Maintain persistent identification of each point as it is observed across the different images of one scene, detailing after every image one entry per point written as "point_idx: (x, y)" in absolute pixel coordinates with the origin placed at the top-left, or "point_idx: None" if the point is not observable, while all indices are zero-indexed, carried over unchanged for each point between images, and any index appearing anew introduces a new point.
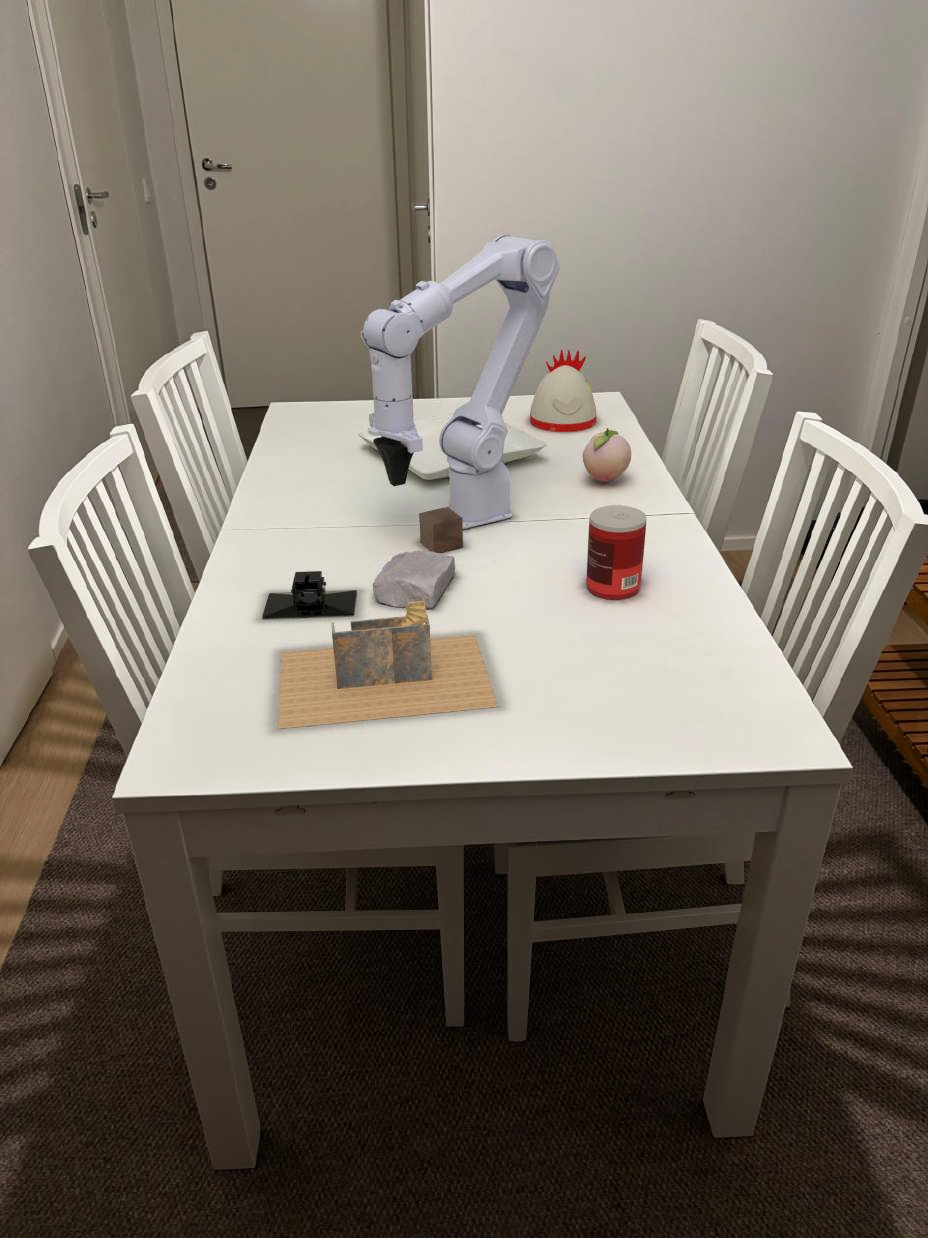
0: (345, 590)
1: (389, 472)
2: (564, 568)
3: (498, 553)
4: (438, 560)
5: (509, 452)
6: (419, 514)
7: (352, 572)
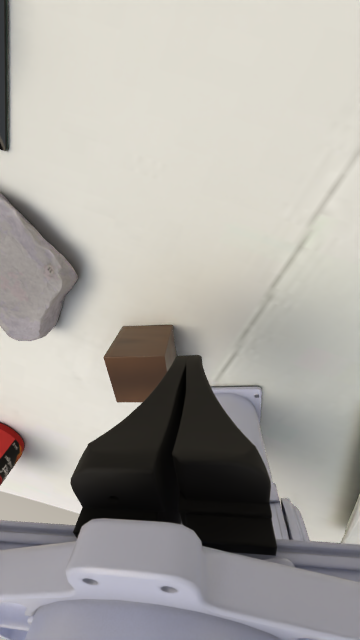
0: (2, 123)
1: (175, 377)
2: (47, 425)
3: (101, 392)
4: (5, 315)
5: (350, 526)
6: (163, 354)
7: (93, 169)
